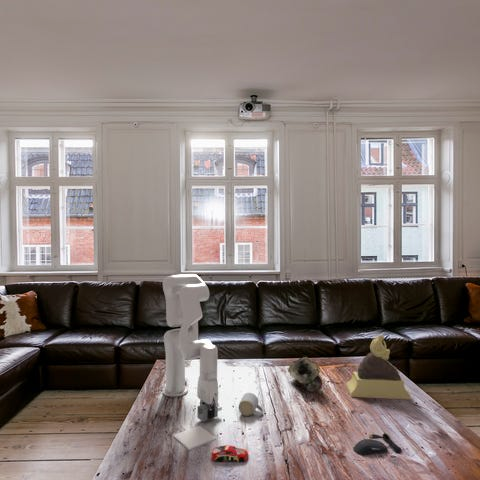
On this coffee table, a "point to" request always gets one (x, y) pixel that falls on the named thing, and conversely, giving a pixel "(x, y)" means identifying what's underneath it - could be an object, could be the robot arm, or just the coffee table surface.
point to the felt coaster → (194, 437)
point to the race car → (229, 454)
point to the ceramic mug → (249, 405)
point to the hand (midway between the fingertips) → (207, 415)
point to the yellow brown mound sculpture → (377, 375)
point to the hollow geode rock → (306, 374)
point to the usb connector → (206, 412)
